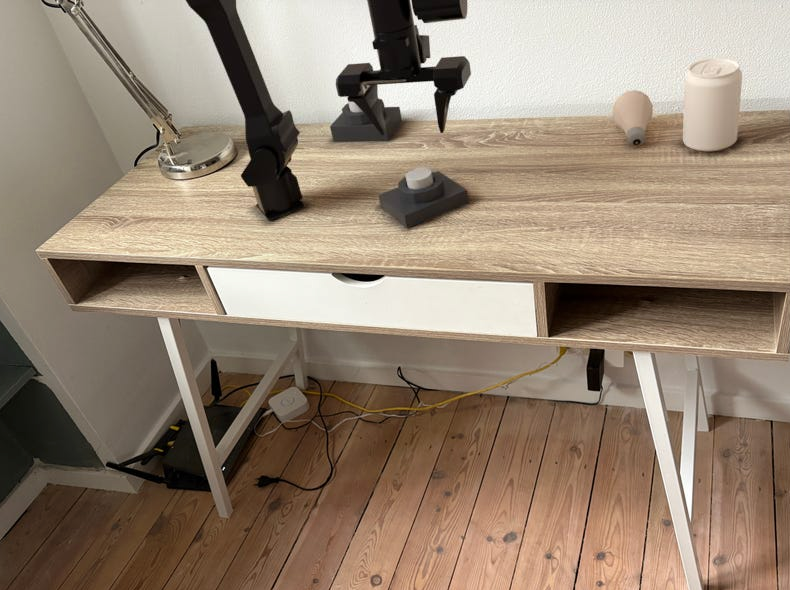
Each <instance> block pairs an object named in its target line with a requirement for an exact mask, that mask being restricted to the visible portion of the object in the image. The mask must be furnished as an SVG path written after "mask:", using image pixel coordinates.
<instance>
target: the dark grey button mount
mask: <svg viewBox="0 0 790 590" xmlns="http://www.w3.org/2000/svg"><path fill="white" fill-rule="evenodd" d="M378 99H379V103H380V107H381V111H382V114H383V118H384V122H385V129H386V134H385V135H384V136H382V135H381V134H380V133H379V131H378V130H377V129H376V127H375V126H374V125H373V123H372V122H371V121H370V119H369V118H368V117H367V116H366V114H365V113H364V112H351V111H350V107H349V103H346V104H344V106H343V107H341V113H340V114H339V115H338V117H337V118H336V119H335V120H334V121H333V122H332V123H331V125H330V126H329V128H330V132H331V136H332V141H333V142H387V141H389V140H390V139H391V137H392V136H393V135H394V133H395V132H396V131H397V130H398V128H399V127H400V126H401V124H402V123H403V118H402V112H401V108H400V106H385V103H384V100H383V99H382V98H379V97H378Z"/></svg>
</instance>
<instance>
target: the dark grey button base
mask: <svg viewBox="0 0 790 590" xmlns="http://www.w3.org/2000/svg"><path fill="white" fill-rule="evenodd" d="M432 176H433V184H432V185H431V186H429V187H426V188H423V189H409V188H408V185H407V180H406V176H404V177H403V178H402V179H400V181H398V182H397V187H395V188H393V189H389V190H388V191H385V192H383V193H380V194H378V195H377V196H378V200H379V205H380V209H382V210H384V212H386V213H387V214H388V215H390V216H391V217H392V218H393V219H394V220H396V221H397V222H398V223H399V224H400V225H402V226H403V227H404V228H405V229H410V228H411V227H414V226H417V225H419V224H422V223H423V222H426V221H429V220H431V219H434V218H436V217H438V216H441V215H443V214H446V213H447V212H449V211H452V210H454V209H457V208H460V207H462V206H465V205H467V204H468V203H470V200H469V193H468V189H467V188H465V187H464V186H462V185H461V184H459V183H458V182H456V181H455V180H453V179H452V178H450V177H449V176H447V175H445V174H444V173H443V172H441V171H439V170H437V171H432Z"/></svg>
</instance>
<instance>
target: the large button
mask: <svg viewBox="0 0 790 590" xmlns="http://www.w3.org/2000/svg"><path fill="white" fill-rule="evenodd" d="M347 102H348V103H349V107H350V111H351V112H363V111H362V110H361V109H360V108H359V107H358V106H357V105H356V104H355V103H354V102H349V101H348V100H347ZM348 103H347V104H348Z"/></svg>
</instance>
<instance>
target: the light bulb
mask: <svg viewBox="0 0 790 590" xmlns="http://www.w3.org/2000/svg"><path fill="white" fill-rule="evenodd" d="M653 110H654V105H653V103H652V101H651V99H650V97H649V95H647V94H646V93H645V92H644V91H641V90H628V91H625V92H624V93H621V94H620V95H619V96H617V99H615V101H614V103H613V105H612V109H611V113H612V115H611V117H612V120H613V121H614V124H615V125H616V126H617V128H619V129H620V130H622V131H623V132H624V135H625V137H626V139H627V143H628V145H629V146H631V147H634V148H635V147H639V146H642V145H643V144H644V143H645V141H646V127H647V126H648V125H649V123H650V122H651V120H652V118H653Z"/></svg>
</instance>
